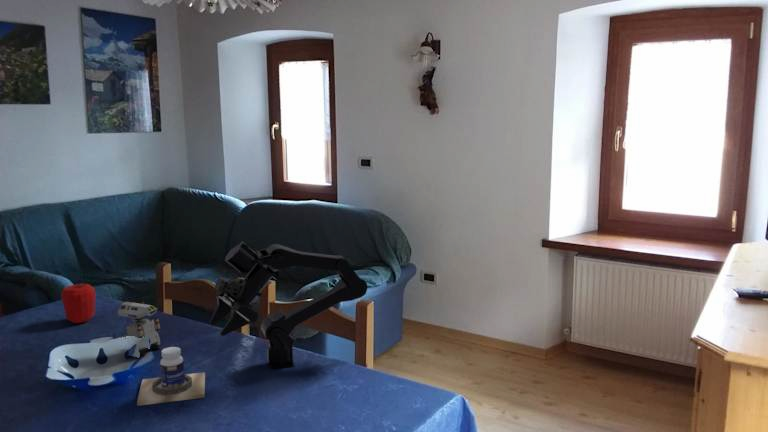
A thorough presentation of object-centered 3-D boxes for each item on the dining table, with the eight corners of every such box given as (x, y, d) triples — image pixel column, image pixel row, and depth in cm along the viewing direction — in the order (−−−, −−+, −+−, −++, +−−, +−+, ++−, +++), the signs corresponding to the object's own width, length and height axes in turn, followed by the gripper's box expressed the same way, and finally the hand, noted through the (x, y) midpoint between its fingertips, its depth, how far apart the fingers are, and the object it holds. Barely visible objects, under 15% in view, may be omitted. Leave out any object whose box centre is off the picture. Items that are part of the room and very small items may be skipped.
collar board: (205, 375, 171) (204, 368, 170) (204, 397, 158) (204, 389, 158) (142, 382, 167) (142, 375, 166) (137, 405, 154) (136, 397, 154)
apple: (88, 326, 207) (84, 287, 205) (58, 326, 208) (53, 287, 205) (103, 315, 218) (99, 278, 215) (73, 315, 218) (70, 278, 215)
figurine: (138, 342, 194) (134, 296, 191) (165, 349, 189) (161, 302, 186) (113, 353, 186) (109, 305, 183) (141, 360, 181) (137, 311, 178)
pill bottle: (169, 393, 158) (166, 356, 156) (157, 386, 162) (154, 350, 160) (189, 385, 163) (186, 349, 161) (177, 379, 166) (175, 344, 164)
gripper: (221, 258, 175) (183, 303, 171) (244, 274, 159) (203, 324, 155) (249, 281, 180) (213, 325, 177) (274, 298, 165) (236, 347, 161)
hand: (216, 329), depth 167 cm, fingers open, 9 cm apart
